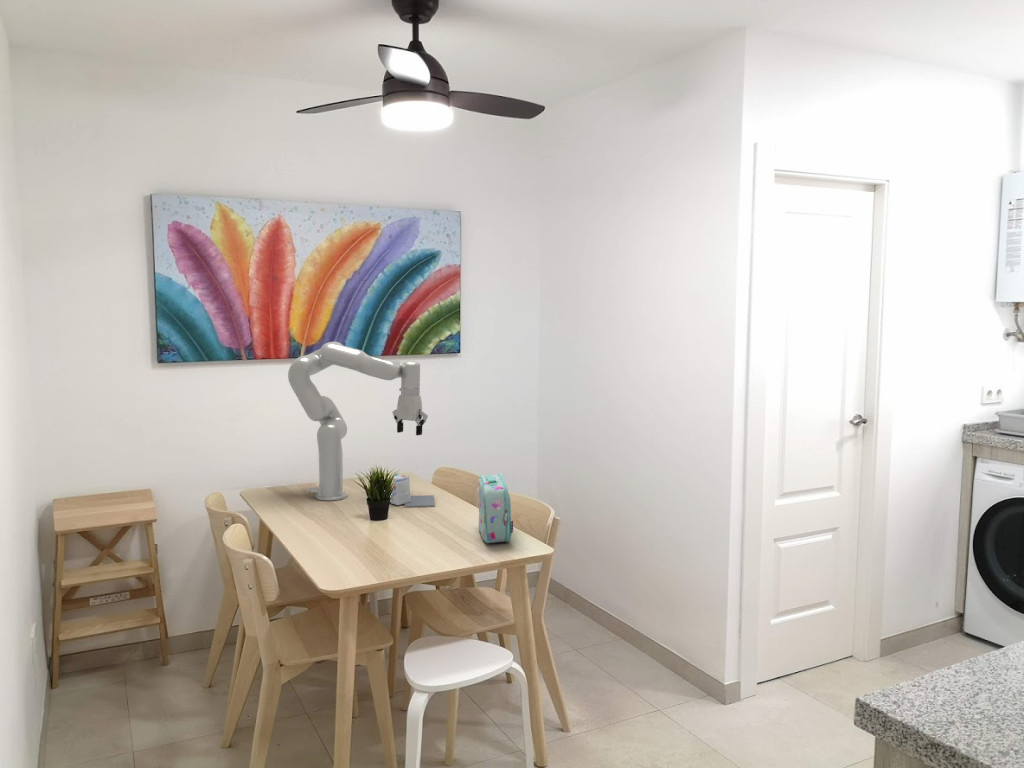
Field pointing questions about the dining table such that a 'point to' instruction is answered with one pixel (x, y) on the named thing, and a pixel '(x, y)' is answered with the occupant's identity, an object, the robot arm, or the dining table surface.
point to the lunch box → (494, 509)
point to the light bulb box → (400, 489)
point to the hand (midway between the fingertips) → (409, 433)
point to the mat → (421, 501)
